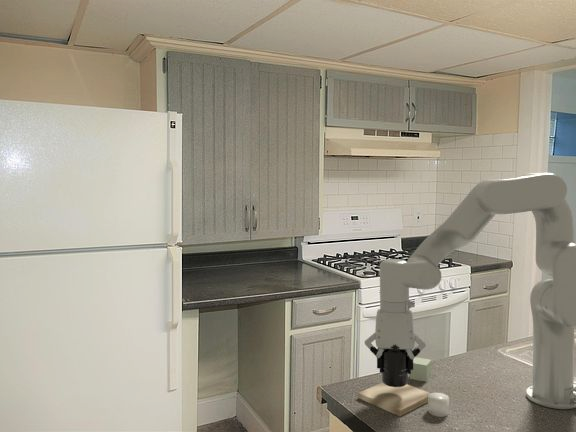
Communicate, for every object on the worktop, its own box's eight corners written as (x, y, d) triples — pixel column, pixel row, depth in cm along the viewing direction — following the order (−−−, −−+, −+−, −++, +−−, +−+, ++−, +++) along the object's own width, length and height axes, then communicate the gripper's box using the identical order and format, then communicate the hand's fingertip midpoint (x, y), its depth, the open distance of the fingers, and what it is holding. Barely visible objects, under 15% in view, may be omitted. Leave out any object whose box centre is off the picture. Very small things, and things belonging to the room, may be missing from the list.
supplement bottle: (408, 388, 127) (408, 343, 126) (381, 387, 129) (381, 342, 128) (407, 378, 134) (407, 335, 133) (382, 376, 135) (381, 334, 135)
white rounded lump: (452, 412, 123) (452, 397, 123) (441, 419, 120) (441, 403, 120) (435, 405, 127) (435, 390, 127) (424, 412, 124) (424, 396, 124)
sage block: (431, 376, 146) (431, 359, 146) (426, 382, 142) (426, 365, 142) (414, 373, 149) (414, 357, 149) (409, 379, 145) (409, 362, 144)
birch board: (432, 399, 131) (432, 393, 131) (400, 416, 122) (400, 410, 122) (391, 383, 142) (391, 378, 141) (358, 398, 133) (358, 392, 133)
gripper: (426, 303, 132) (427, 367, 133) (361, 301, 135) (362, 364, 136) (429, 310, 125) (429, 378, 126) (360, 309, 128) (361, 375, 129)
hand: (394, 371), depth 131 cm, fingers closed on supplement bottle, 6 cm apart
